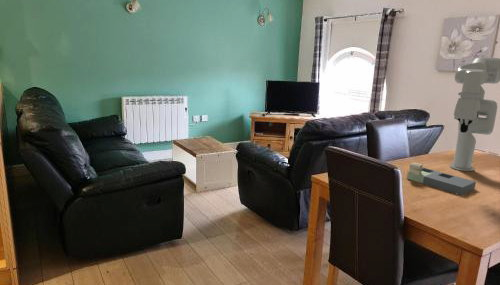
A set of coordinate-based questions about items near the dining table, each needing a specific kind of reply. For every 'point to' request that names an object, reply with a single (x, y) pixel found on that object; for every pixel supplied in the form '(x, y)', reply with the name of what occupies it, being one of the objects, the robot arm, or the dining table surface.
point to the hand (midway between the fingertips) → (463, 131)
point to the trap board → (443, 181)
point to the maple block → (415, 168)
